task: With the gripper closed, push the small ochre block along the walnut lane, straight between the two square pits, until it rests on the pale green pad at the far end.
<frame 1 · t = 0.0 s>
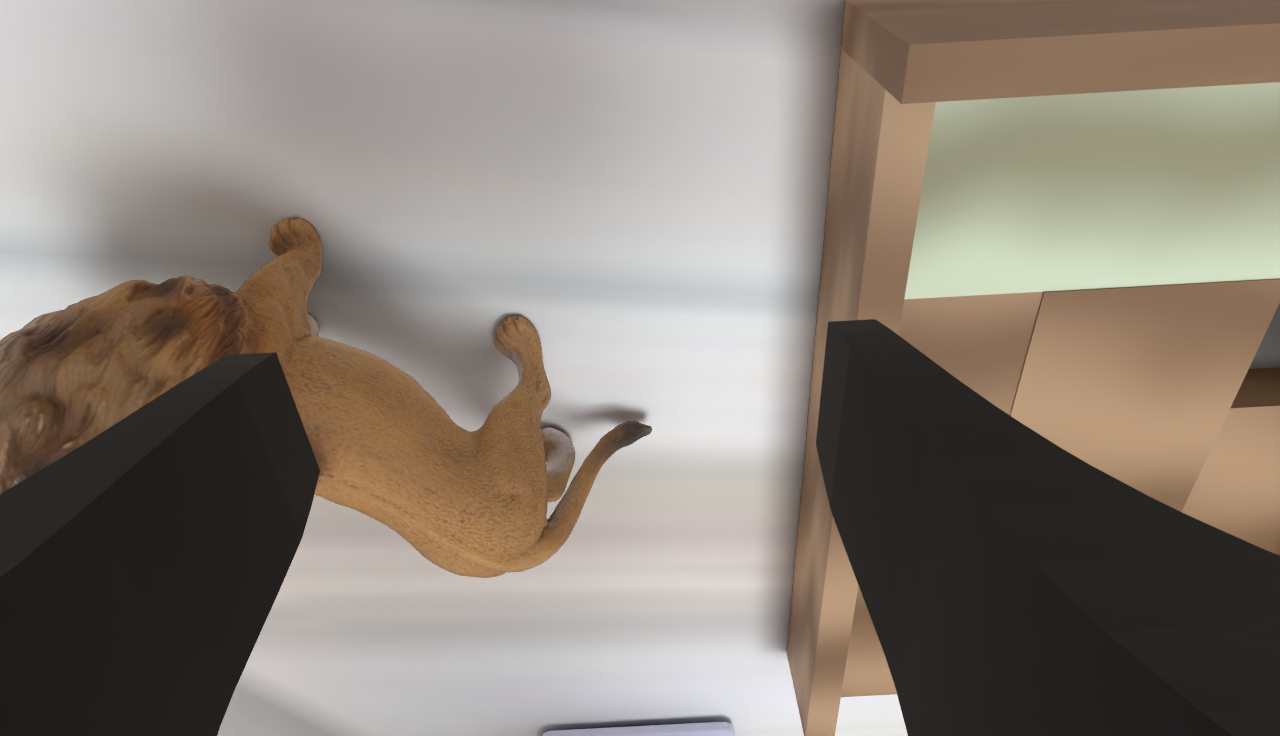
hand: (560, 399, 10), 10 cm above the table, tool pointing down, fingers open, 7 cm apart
walnut lane: (1069, 414, 24), on the table
lion figurine: (390, 336, 22), on the table
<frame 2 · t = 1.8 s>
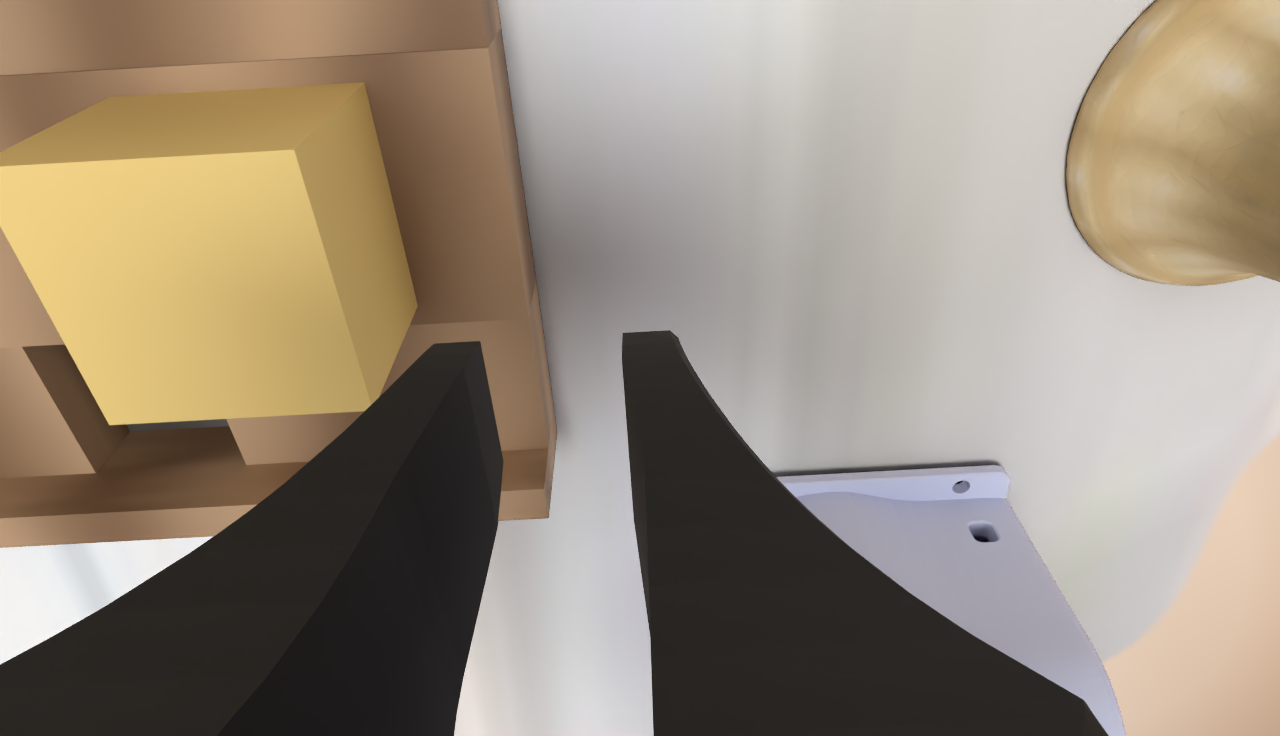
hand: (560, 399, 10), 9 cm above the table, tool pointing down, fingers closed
ochre block: (276, 210, 17), point 2 cm above the table, touching walnut lane
hand bell: (1241, 119, 18), on the table
walnut lane: (52, 191, 18), on the table
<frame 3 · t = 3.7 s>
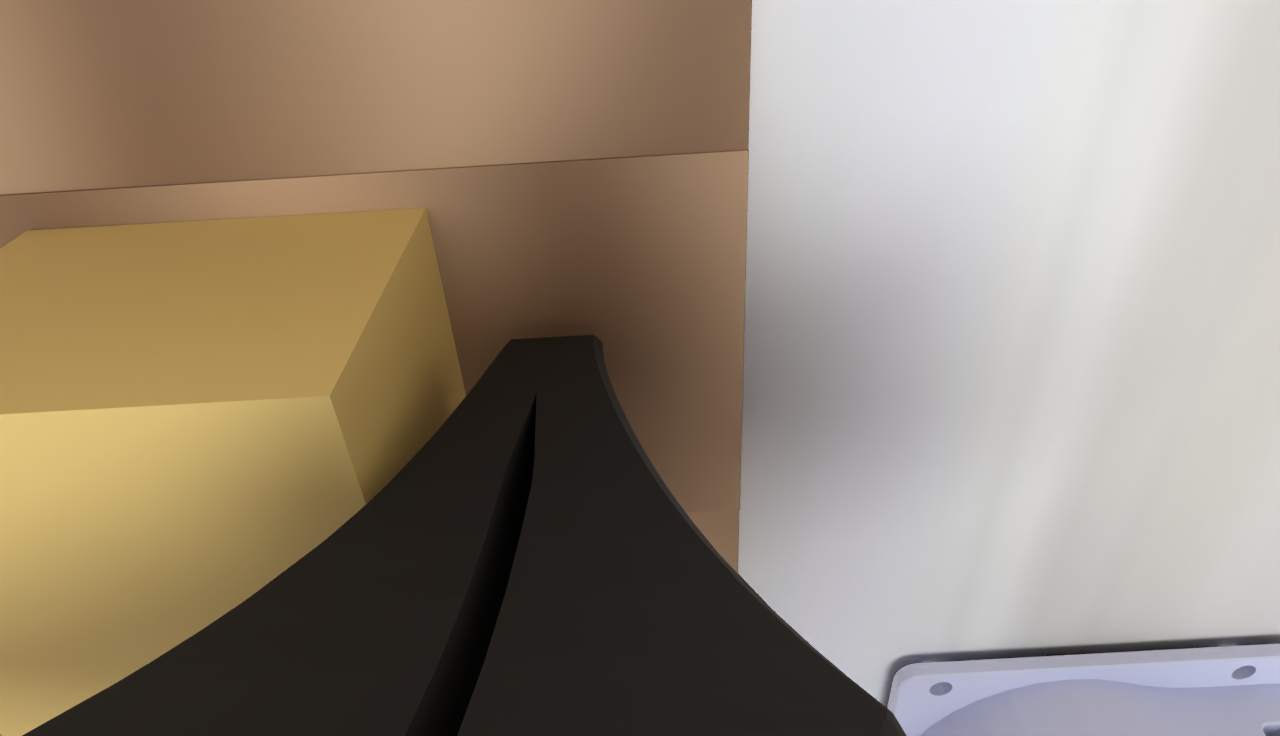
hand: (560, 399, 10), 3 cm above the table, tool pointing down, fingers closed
ochre block: (286, 382, 11), point 2 cm above the table, touching gripper
walnut lane: (62, 329, 13), on the table
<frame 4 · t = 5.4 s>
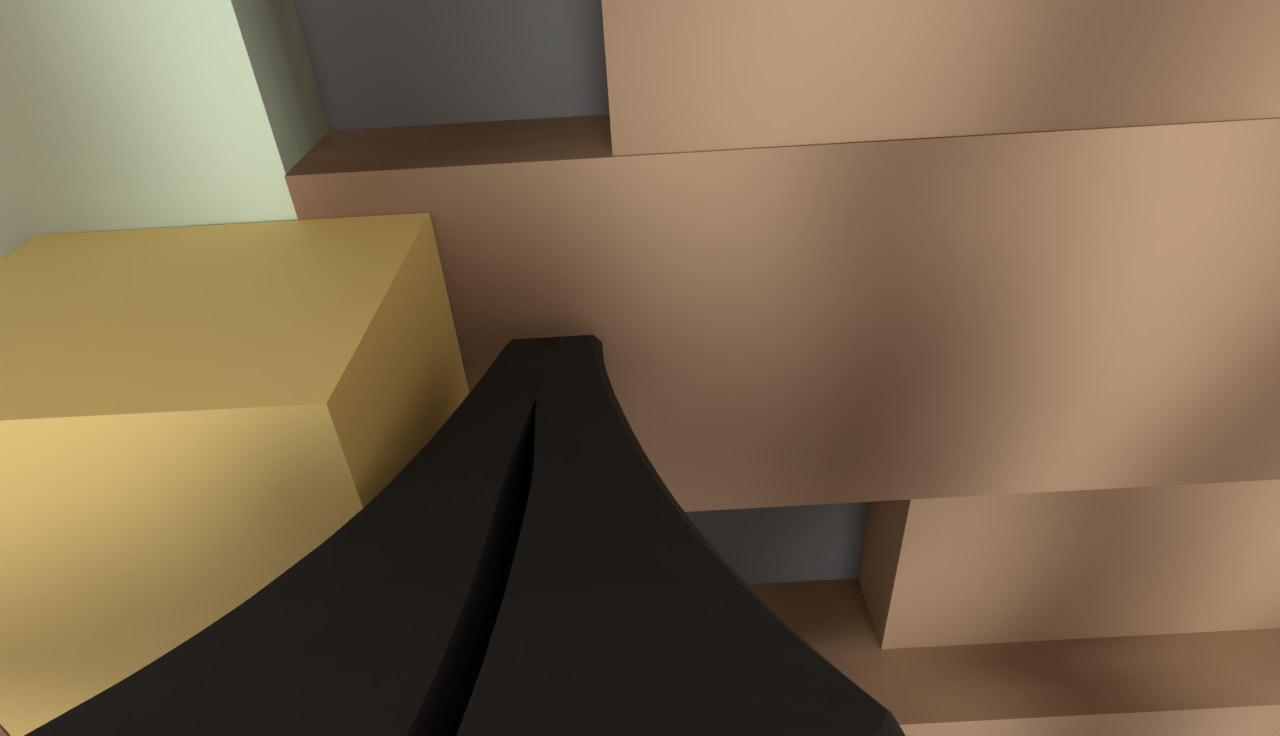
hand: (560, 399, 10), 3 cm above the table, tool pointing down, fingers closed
ochre block: (293, 385, 11), point 2 cm above the table, touching gripper
walnut lane: (717, 290, 13), on the table
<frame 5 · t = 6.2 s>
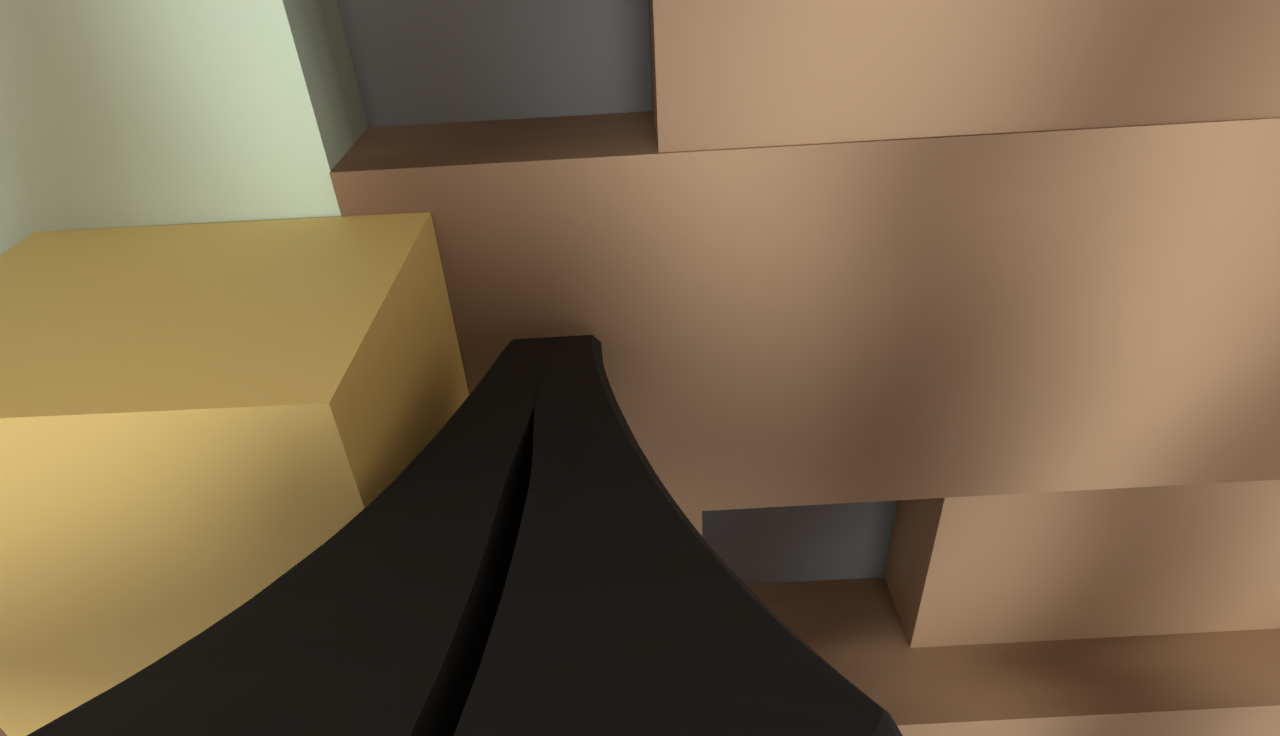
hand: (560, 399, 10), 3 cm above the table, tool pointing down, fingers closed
ochre block: (291, 384, 11), point 2 cm above the table, touching gripper, walnut lane
walnut lane: (751, 287, 13), on the table
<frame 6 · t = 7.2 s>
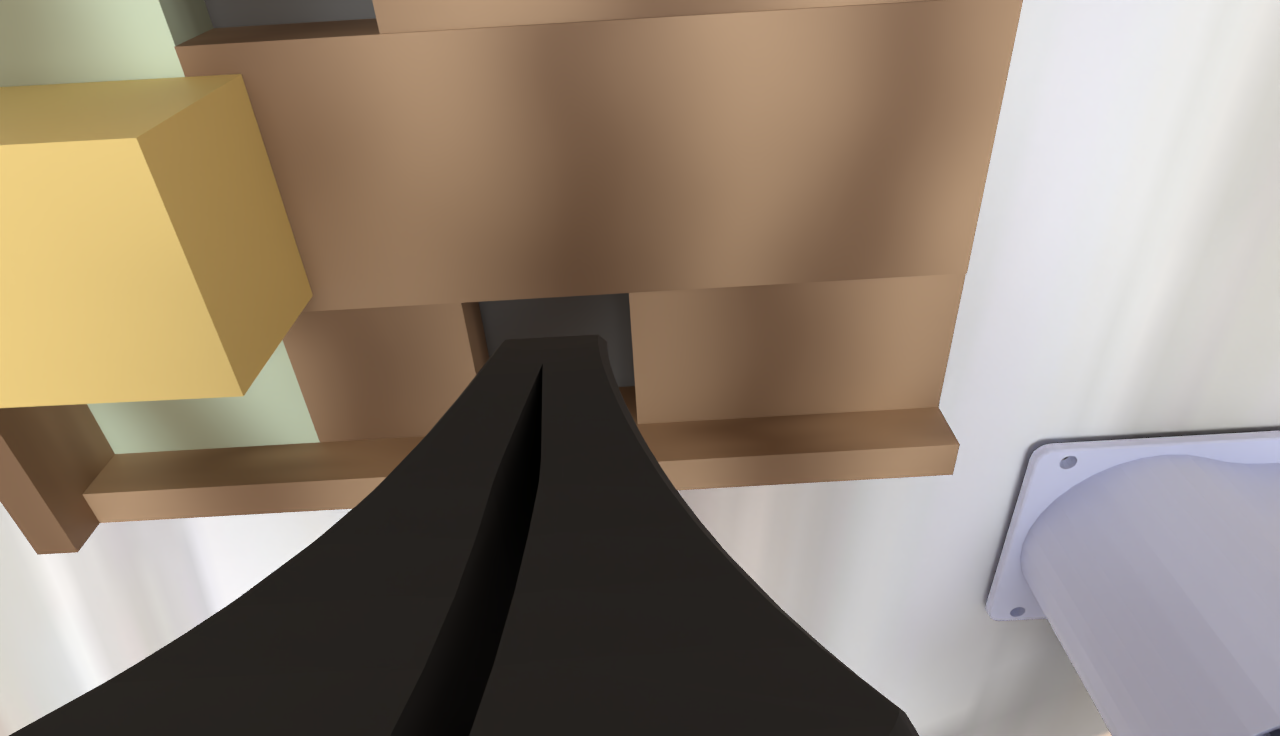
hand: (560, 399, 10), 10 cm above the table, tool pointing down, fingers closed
ochre block: (165, 199, 17), point 2 cm above the table, touching walnut lane
walnut lane: (493, 148, 18), on the table
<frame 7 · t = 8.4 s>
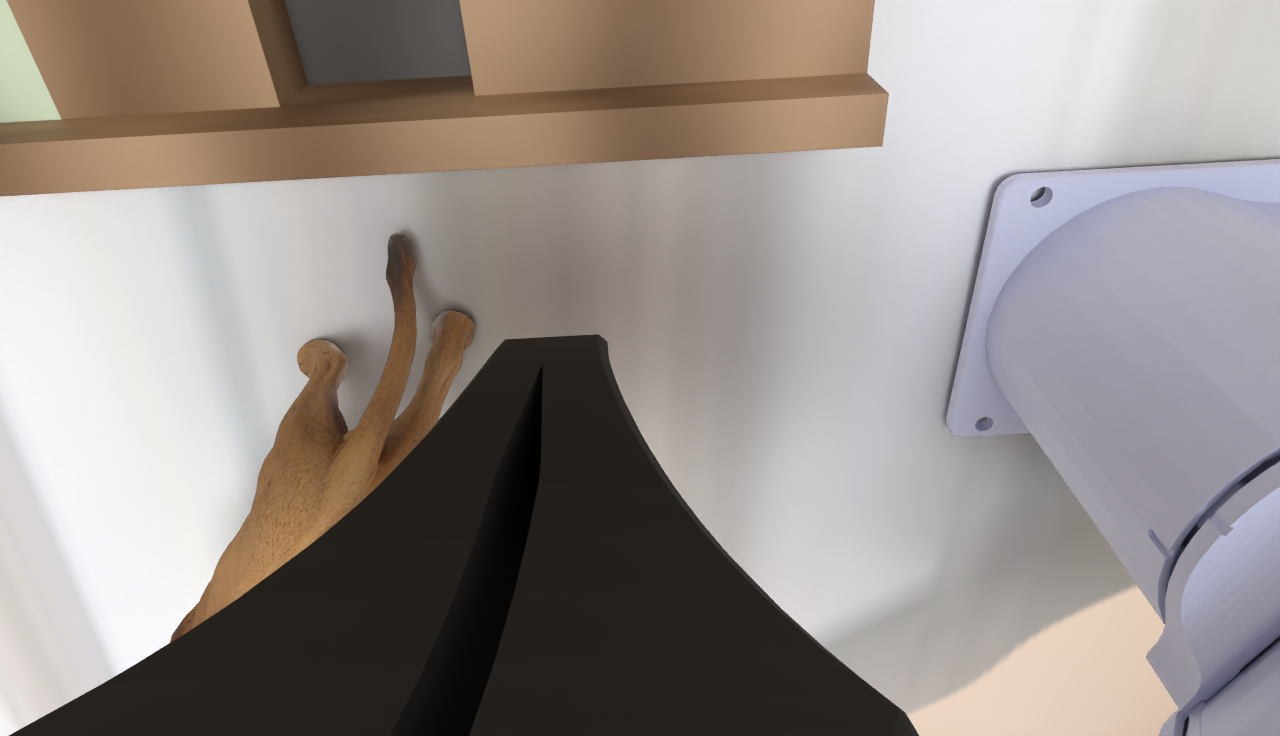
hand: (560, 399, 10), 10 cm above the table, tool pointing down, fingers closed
lion figurine: (364, 448, 24), on the table
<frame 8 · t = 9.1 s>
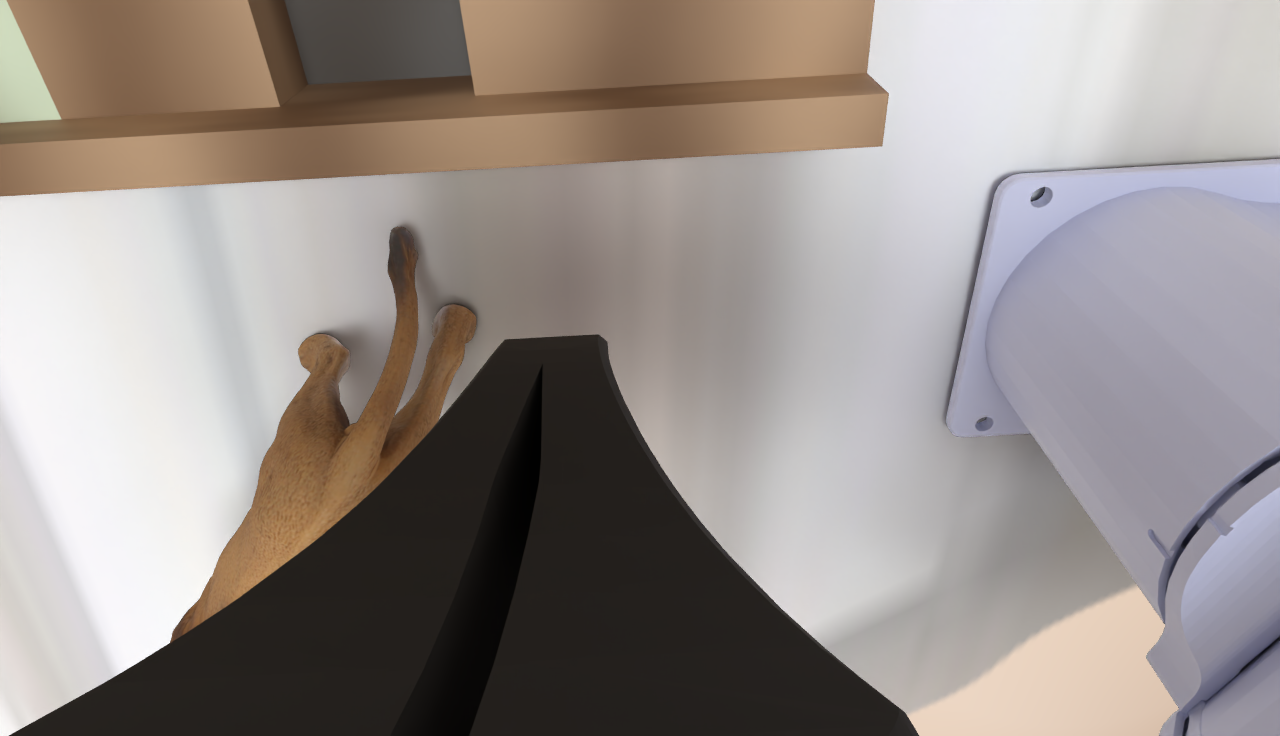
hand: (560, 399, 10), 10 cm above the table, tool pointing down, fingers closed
lion figurine: (365, 443, 24), on the table
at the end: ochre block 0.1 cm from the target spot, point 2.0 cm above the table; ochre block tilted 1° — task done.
